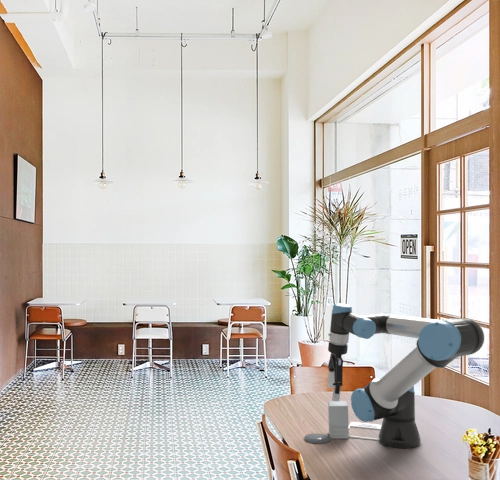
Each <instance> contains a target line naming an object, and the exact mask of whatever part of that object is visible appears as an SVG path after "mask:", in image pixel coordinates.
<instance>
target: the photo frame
mask: <svg viewBox="0 0 500 480" xmlns="http://www.w3.org/2000/svg"><path fill="white" fill-rule="evenodd" d="M381 426H382V424H377V423H368V422H359V421H350V423H349V424H348V429H349V430H350V429H351V428H355V427H357V429H367V430H375V431H380V430H381ZM349 438H350V439H360V440H369V441H378V442H380V441H379V438H374V437H366V436H356V435H349Z"/></svg>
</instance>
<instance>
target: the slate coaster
mask: <svg viewBox="0 0 500 480" xmlns="http://www.w3.org/2000/svg"><path fill="white" fill-rule="evenodd" d="M303 439H305V440H306V441H305V440H304V441H305V442H307V443H309V442H310V443H309V444H314V443H319V444H320V445H321V443H323V444H327V443H329V442H331V438H330V435H327V434H326V433H316V432H315V433H309V434H306V435H305V436H304V437H303ZM326 442H327V443H326ZM319 444H318V445H319Z"/></svg>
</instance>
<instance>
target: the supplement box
mask: <svg viewBox="0 0 500 480" xmlns="http://www.w3.org/2000/svg"><path fill="white" fill-rule="evenodd" d="M327 404H328V406H327V407H328V410H327V411H328V413H327V414H328V434H329V437H330V439H343V440H344V439H347V440H348V439H349V436H350V435H349V434H350V433H349V432H350V429H348V427H349V406H348V403H347V400H339V401H332V400H327Z"/></svg>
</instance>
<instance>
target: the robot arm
mask: <svg viewBox="0 0 500 480" xmlns="http://www.w3.org/2000/svg"><path fill="white" fill-rule="evenodd" d="M330 319H331V320H330V327H329V333H328V334H327V335H328V339H329V341H328V347H327V350H328V352H329V353H330V356H329V360H328V365H327V367H328V373H327V384H326V386H327V388H333V389H332V396H331V397H332V398H331V401H340V400H341V399H340V398H341V389H342V387H343V368H344V367H343V364H344V360H343V357H342V356H343V355H346V354H347V353H348V347H349V345H348V343H349V339H350V334H352V335H353V336H354V335H355V336H356V337H359V338H361V339H364V340H368V339H369V340H370V339H371V338H372V337H373V336H374V335H378V334H385V335H386V334H387V335H394V336H400V337H406V338H412V339H417V340H416V342H415V343H416V345H415V346H416V347H414V349H412V350H411V351H410V352H409V353H407V355H406V356H404V357H403V358H402V359H401V360H400V361H399V362H398V363H397V364H395V365H394V367H392V368H391V369H390V370H389V371H388V372H387V373H386V374H385V375H384V376H382V377H381V378H374V379H372V380H371V381H370V382H369V383H367V385H365V386H364V387H362V388H361V387H359V388H356V389H355V390H353V391H352V393H351V396H350V405H351V409H352V411H353V413H354V415H355V416H356V417H357V419H359V420H360V421H361V422H362V423H368V422H370V423H373V422H374V421H378V420H380V419H381V420H382V421H381V422H382V423H381V425H382V426H381V430H379V432H378V439H379V441H378V442H380V443H381V444H382V445H385V446H387V447H390V448H391V447H392V448H396V449H397V448H398V449H413V448H417V447H419V446H420V445H421V435H420V433H419V432H420V431H419V430H418V427H417V422H416V410H415V409H416V407H415V406H416V402H415V398H416V397H415V394H416V393H415V385H417V384H418V383H419V382H421V380H423V379H424V378H425V377H426V376H427V375H429V374H431V372H432V371H434V370H435V369H436V368H437V369H444V368H446V367H447V366H448V365H450V363H451V362H453V361H454V360H456V359H457V358H459V357H465V356H471V355H473V354H476V353H477V352H478V351H480V350H481V349H482V347H483V346H484V344H485V333H484V330H483V328H482V327H481V326H480V324H479V323H477V321H475V320H473V319H471V318H449V319H446V320H443V319H442V320H441V319H435V318H434V319H433V318H424V317H417V316H416V317H415V316H407V315H397V314H394V313H391V312H383V313H376V314H373V313H372V314H363V315H360V314H356V313H354V312H353V307H352V305H350V304H347V303H342V302H338V303H334V304H333V305H332V310H331V317H330Z"/></svg>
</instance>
